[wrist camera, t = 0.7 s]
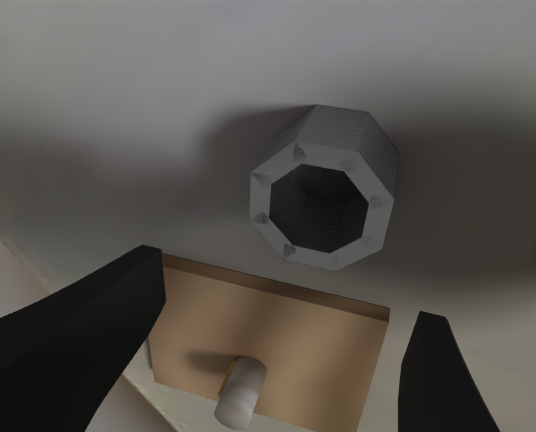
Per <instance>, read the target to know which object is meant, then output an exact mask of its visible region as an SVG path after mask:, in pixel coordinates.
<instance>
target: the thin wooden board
mask: <svg viewBox="0 0 536 432" xmlns="http://www.w3.org/2000/svg"><path fill="white" fill-rule="evenodd" d="M162 262H163V273H164V283H165V293H166V303H165V305H164V307H163V309H162V311H161V313H160V315H159V317H158V319H157V321H156V323H155V325H154V326H153V328H152V330H151V332H150V333H149V335H148V337H149V345H150V352H151V359H152V367H153V374H154V381H155V382H157V383H160V384H163V385H167V386H170V387H173V388H176V389H180V390H183V391H186V392H189V393H193V394H196V395H199V396H202V397H206V398H209V399H212V400H215V401H219V402H218V405H217V407H216V409H215V412H214V414H215V417H216V419H217V420H218V421H219V422H220V423H221V424H223V425H224V426H226V427H228V428H231V429H235V430H243V429H246V428H247V427H248V425H249V422H250V419H251V416H252V413H253V412H254V413H257V414H261V415H264V416H267V417H270V418H274V419H277V420H280V421H283V422H287V423H290V424H293V425H296V426H300V427H303V428H306V429H309V430H312V431H316V432H356V431H357V427H358V424H359V421H360V417H361V414H362V411H363V407H364V404H365V401H366V397H367V394H368V390H369V387H370V384H371V380H372V377H373V374H374V370H375V367H376V364H377V360H378V357H379V354H380V350H381V347H382V344H383V340H384V337H385V333H386V330H387V327H388V323H389V314H390V309H389V308H385V307H381V306H377V305H373V304H368V303H364V302H360V301H356V300H352V299H348V298H344V297H339V296H335V295H331V294H327V293H323V292H319V291H315V290H310V289H306V288H302V287H298V286H294V285H290V284H286V283H281V282H277V281H273V280H269V279H265V278H261V277H257V276H252V275H248V274H244V273H240V272H236V271H232V270H227V269H223V268H219V267H215V266H211V265H207V264H203V263H198V262H194V261H190V260H186V259H182V258H178V257H174V256H169V255H165V254H162Z"/></svg>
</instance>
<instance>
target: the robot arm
mask: <svg viewBox="0 0 536 432" xmlns="http://www.w3.org/2000/svg"><path fill="white" fill-rule="evenodd" d="M165 303H166V293H165V283H164V273H163V262H162V252H161V249H158V248H154V247H150V246H146V245H141V246H139V247H137V248H135V249H133V250H131V251H130V252H128V253H126V254H124V255H123V256H121V257H119V258H117V259H116V260H114V261H112V262H110V263H109V264H107V265H105V266H103V267H102V268H100V269H98V270H96V271H95V272H93V273H91V274H89V275H87V276H86V277H84V278H82V279H80V280H79V281H77V282H75V283H73V284H71V285H69V286H67V287H65V288H63V289H61V290H59V291H57V292H55V293H53V294H51V295H49V296H48V297H46V298H44V299H42V300H40V301H38V302H36V303H33V304H31V305H29V306H27V307H25V308H23V309H20V310H18V311H16V312H13V313H11V314H8V315H6V316H4V317H2V318H0V432H85V430H86V428H87V426H88V425H89V423H90V421H91V419H92V418H93V416H94V414H95V412H96V410H97V409H98V407H99V406H100V404H101V403H102V401H103V400H104V398H105V397H106V395H107V394H108V392H109V391H110V389H111V388H112V387H113V385H114V384H115V382H116V380H117V379H118V378H119V377H120V375H121V374H122V372H123V371H124V369H125V368H126V367H127V365H128V364H129V362H130V361H131V360H132V358H133V357H134V355H135V354H136V352H137V351H138V349H139V348H140V347H141V345H142V344H143V342H144V341H145V339H146V338H147V336H148V335H149V333H150V332H151V330H152V328H153V326H154V325H155V323H156V321H157V319H158V317H159V315H160V313H161V311H162V309H163V307H164V305H165ZM398 432H500V430H499V428H498V426H497V425H496V423H495V421H494V419H493V418H492V416H491V414H490V412H489V410H488V408H487V406H486V404H485V403H484V401H483V399H482V397H481V395H480V393H479V391H478V389H477V387H476V385H475V383H474V381H473V379H472V377H471V374H470V372H469V370H468V368H467V366H466V364H465V361H464V359H463V357H462V354H461V352H460V350H459V347H458V345H457V343H456V340H455V338H454V335H453V333H452V330H451V328H450V325H449V322H448V320H447V319H446V317H444V316H440V315H435V314H431V313H427V312H423V311H420V312H419V315H418V318H417V321H416V323H415V326H414V329H413V332H412V335H411V338H410V341H409V344H408V347H407V349H406V352H405V355H404V358H403V361H402V365H401V374H400V384H399V395H398Z"/></svg>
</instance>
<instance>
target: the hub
mask: <svg viewBox="0 0 536 432" xmlns="http://www.w3.org/2000/svg"><path fill="white" fill-rule="evenodd" d="M398 159H399V153H398V151H397V150H396V148H395V147H394V146H393V144H392V143H391V142H390V140H389V139H388V138H387V136H386V135H385V133H384V132H383V131H382V129H381V128H380V127H379V125H378V124H377V123H376V121H375V120H374V119H373V117H372V116H371V114H370V113H368V112H362V111H355V110H349V109H342V108H335V107H329V106H322V105H316V106H315V107H313V108H312V109H311V110H309V111H308V112H307V113H305V114H304V115H303V116H301V117H300V118H299V119H297V120H296V121H295V122H293V123H292V124H291V125H289V126H288V127H287V128H285V129H284V130H283V131H281V132H280V133H279V134H278V135H277V137H276V138H275V140H274V141H273V142H272V144H271V145H270V146H269V148H268V149H267V151H266V152H265V153H264V155H263V156H262V158H261V159H260V160H259V162H258V163H257V164H256V166H255V167H254V169H253V170H252V171H251V181H250V206H249V221H250V223H251V224H252V225H253V226H254V227H255V228H256V229H257V230H258V232H259V233H260V234H261V235H262V236H263V237H264V238H265V239H266V241H267V242H268V243H269V244H270V245H271V246H272V247H273V248H274V250H275V251H276V252H277V253H278V254H279V255H280V256H281V257H282V259H284V260H288V261H293V262H297V263H302V264H306V265H310V266H315V267H319V268H323V269H328V270H332V271H337V270H339V269H341V268H343V267H346V266H348V265H350V264H352V263H354V262H356V261H358V260H360V259H362V258H365V257H367V256H369V255H371V254H373V253H375V252H377V251H379V250H381V249H382V247H383V243H384V239H385V235H386V231H387V227H388V223H389V219H390V215H391V211H392V207H393V203H394V199H395V189H396V179H397V169H398ZM300 164H307V165H312V166H318V167H323V168H329V169H334V170H340V171H344V172H345V173H346V174H347V176H348V177H349V178H350V179H351V181H352V182H353V183H354V185H355V186H356V187H357V188H358V190H359V191H360V192H361V194H360V195H358V196H356V197H354V198H353V199H351V200H349V201H347V202H346V203H341V202H336V201H331V200H326V199H321V198H316V197H313V196H312V195H311V194H310V193H309V192H308V190H307V189H306V188H305V187H304V186H303V184H302V183H301V182H300V181H299V179H298V178H297V177H296V176H295V175H294V173H293V169H295V168H296V167H297V166H299V165H300Z"/></svg>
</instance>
